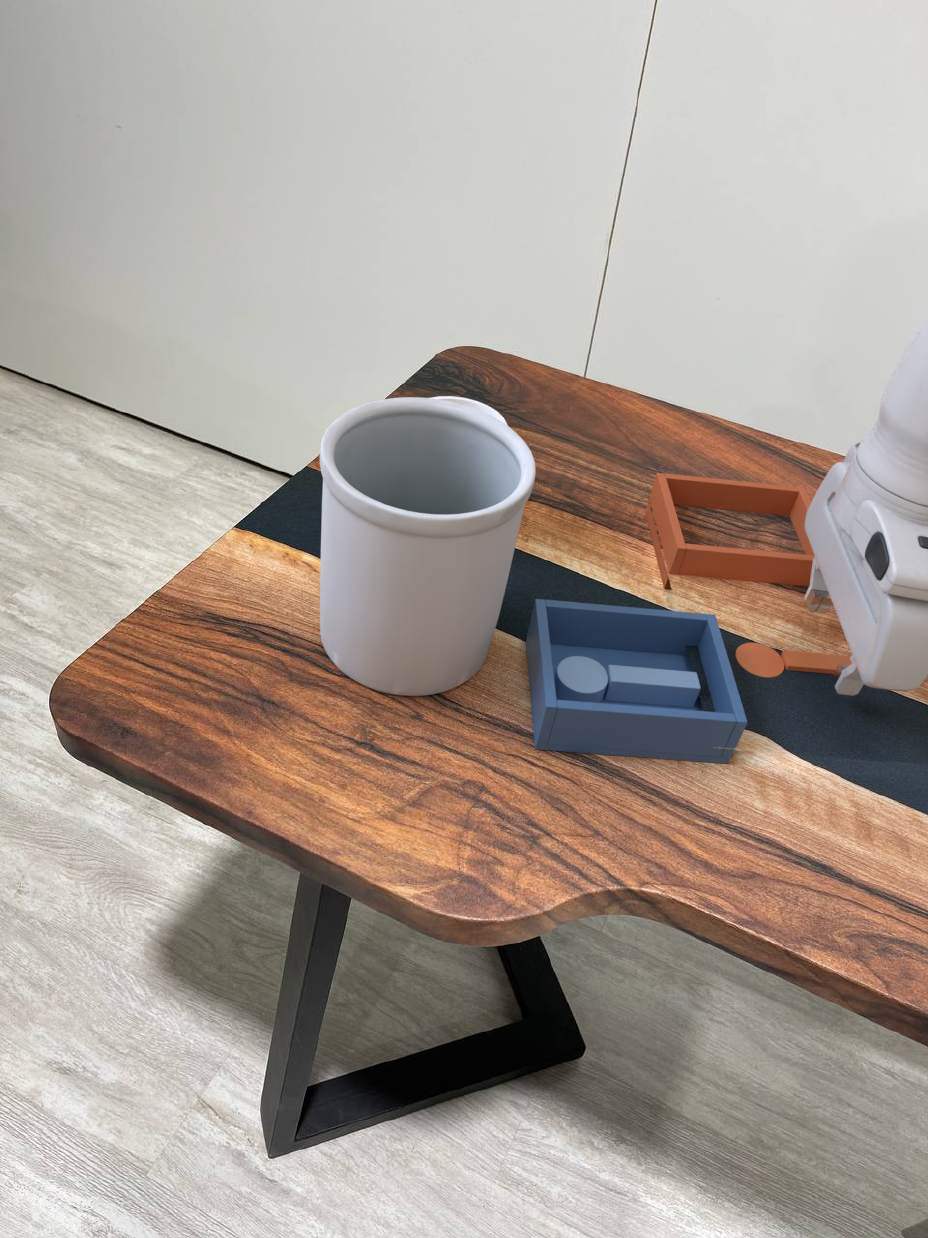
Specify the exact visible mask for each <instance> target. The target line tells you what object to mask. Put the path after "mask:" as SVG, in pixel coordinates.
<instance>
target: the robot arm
mask: <svg viewBox="0 0 928 1238" xmlns="http://www.w3.org/2000/svg"><path fill="white" fill-rule="evenodd" d="M896 363H897V364H896V365H895V367H894V369H893V371H892V373H891V375H890V378H889V380H888V382H887V384H886V385H885V388H884V391H883V393H882V394H881V398H880V403H879V410H878V411H879V412H878V417H877V420H876V422H875V424H874V426H873V427H872V428H871V430H870V431H869V432H868V433H867V434H866V435H865V436H864V437H863V439H862V440H861V441H858V442H857V443H855V444H852V445H851V446H850V447H849V449H848V450H847V452H846V454H845V457H844V459H843V461H840V462H836V463H834V464H833V465H832V466H831V468H829V470H828V471H827V473H826V475H825V476H824V478H823V480H822V482H821V484H820V485H819V487H818V488H817V490H816V492H815V494H814V496H813V498H812V500H811V504H810V506H809V508H808V510H807V513H806V518H805V525H804V528H805V532H806V534H807V537H808V539H809V542H810V545H811V547H812V550H813V553H814V555H815V557H814V559H813V563H812V570H811V578H810V586H809V587H808V588H807V590H806V592H805V594H804V596H803V600H804V603H805V604H806V607H807V610H808V612H809V613H812V614H815V613H818V614H821V615H824V614H826V613H828V612H829V611H830V609H831V606H833V608H834V610H835V611H834V612H835V613H836V616H837V618H838V621H839V624H840V627H841V630H842V632H843V634H844V638H845V640H846V642H847V645H848V648H849V650H850V653H851V654H850V655H849V656H850V661H851V663H852V664H851V665H849V666H848V665H842V664H839V665H838V666H837V668H836V670H835V674H832V676H831V679H832V682H833V685H834V690H835V692H836V693H837V694H838V695H844V696H856V695H858V694H859V693H860V692H861V690H862V689H863V686H866V687H868V688H873V689H879V690H885V691H895V692H908V691H911V690H912V691H913V690H915V689H918V687H920V686H921V685H922V683H923V682H924V681H925V680H926V679H927V678H928V312H927V313H925V316H924V317H923V318H922V319H921V322H920V323H919V324H918V326H917V327H916V329H915V331H914V332H913V334H912V336H911V338H910V339H909V341H908V342H907V344H906V346H905V348H904V350H903V352H902V354H901V356H900V357H899V359H898V361H897V362H896Z"/></svg>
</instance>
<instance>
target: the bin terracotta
mask: <svg viewBox="0 0 928 1238" xmlns="http://www.w3.org/2000/svg"><path fill="white" fill-rule="evenodd" d="M653 481H654V482H653V484H652V488H651V491H650V494H649V498H648V499H649V500H647V503H646V507H645V511H644V514H645V518H646V521H647V525H648V530H649V533H650V536H651V542H652V545H653V548H654V553H655V557H656V561H657V565H658V569H659V574H660V577H661V581H662V586H663V589H668V590H672V586H671V582H670V578H669V574H670V575H678V576H679V575H680V576H689V577H690V576H691V577H700V578H701V577H702V578H711V579H723V580H731V581H732V580H734V581H735V580H736V581H743V582H744V581H745V582H755V583H764V584H766V583H767V584H776V585H777V584H778V585H787V586H796V587H797V586H798V587H808V588H809V586H810V578H811V570H812V563H813V559H814V557H815V555H814V553H813V550H812V547H811V545H810V542H809V539H808V537H807V534H806V532H805V528H804V525H805V518H806V513H807V510H808V508H809V506H810V504H811V502H812V500H811V497H810V496H809V494H808V491H807V489H806V488H805V487H802V486H793V485H783V484H773V483H763V482H753V481H744V480H733V479H723V478H715V477H705V476H694V475H684V474H674V473H667V472H666V473H664V472H656V475H655V477H654V480H653ZM675 506H685V507H694V508H695V507H696V508H705V509H714V510H715V509H716V510H717V509H718V510H726V511H737V512H746V513H755V514H764V515H765V514H766V515H775V516H785V517H789V519H790V521H791V523H792V526H793V528H794V531H795V533H796V535H797V538H798V540H799V542H800V545H801V547H802V549H803V551H804V554H802V553H792V552H781V551H780V552H779V551H770V550H759V549H747V548H738V547H727V546H719V545H707V544H696V543H686V542H685V538H684V534H683V532H682V531H683V530H682V529H681V525H680V522H679V518H678V514H677V510H676V507H675Z"/></svg>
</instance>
